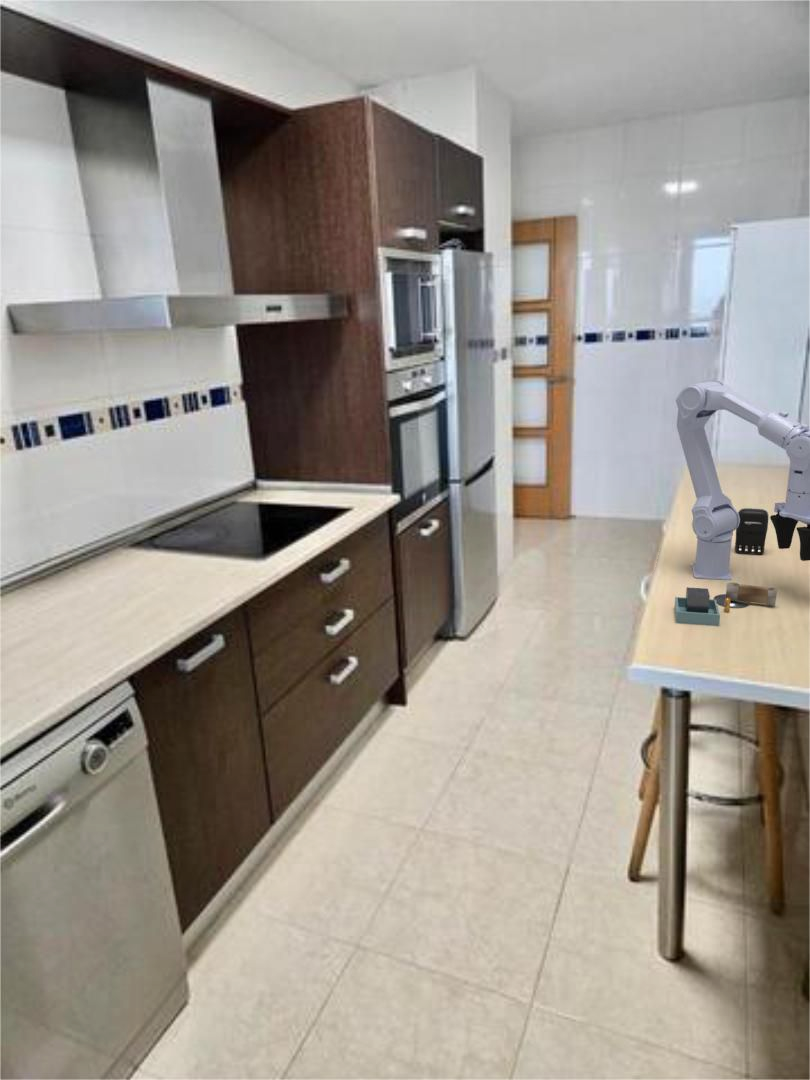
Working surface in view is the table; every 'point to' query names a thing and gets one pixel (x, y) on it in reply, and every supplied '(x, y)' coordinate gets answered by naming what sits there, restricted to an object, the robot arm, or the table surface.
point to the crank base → (729, 603)
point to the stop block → (697, 600)
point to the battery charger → (751, 531)
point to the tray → (696, 614)
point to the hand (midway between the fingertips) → (794, 554)
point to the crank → (751, 593)
